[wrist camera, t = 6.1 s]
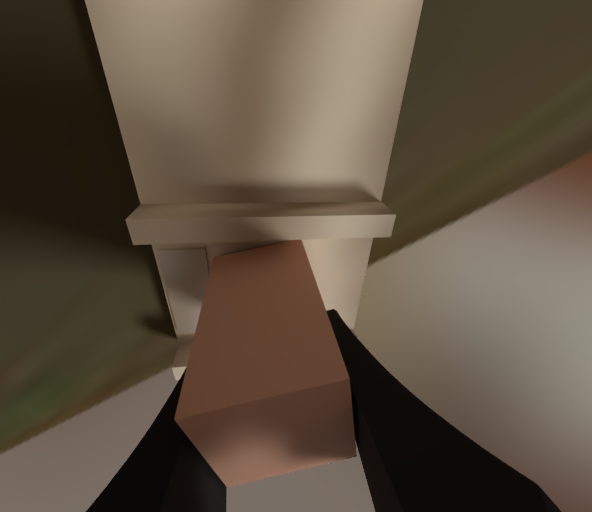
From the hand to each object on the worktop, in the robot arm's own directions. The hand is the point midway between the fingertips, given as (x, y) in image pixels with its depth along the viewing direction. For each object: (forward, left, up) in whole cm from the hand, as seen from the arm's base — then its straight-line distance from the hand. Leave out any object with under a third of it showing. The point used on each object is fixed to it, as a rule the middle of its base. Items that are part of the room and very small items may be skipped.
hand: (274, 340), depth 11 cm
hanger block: (0, 0, -3) cm, 3 cm away
